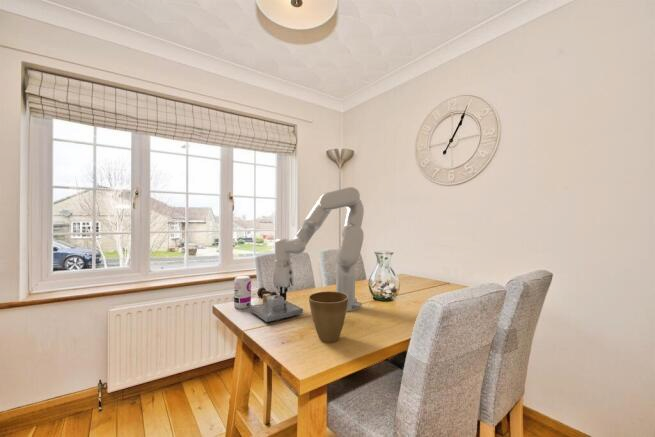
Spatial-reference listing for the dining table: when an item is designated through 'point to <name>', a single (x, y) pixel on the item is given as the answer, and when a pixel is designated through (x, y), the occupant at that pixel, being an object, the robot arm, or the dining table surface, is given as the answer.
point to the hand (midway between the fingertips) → (283, 300)
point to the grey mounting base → (276, 314)
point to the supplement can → (242, 292)
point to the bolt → (264, 292)
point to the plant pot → (328, 314)
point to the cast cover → (275, 302)
